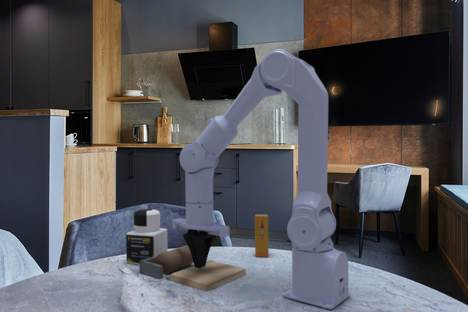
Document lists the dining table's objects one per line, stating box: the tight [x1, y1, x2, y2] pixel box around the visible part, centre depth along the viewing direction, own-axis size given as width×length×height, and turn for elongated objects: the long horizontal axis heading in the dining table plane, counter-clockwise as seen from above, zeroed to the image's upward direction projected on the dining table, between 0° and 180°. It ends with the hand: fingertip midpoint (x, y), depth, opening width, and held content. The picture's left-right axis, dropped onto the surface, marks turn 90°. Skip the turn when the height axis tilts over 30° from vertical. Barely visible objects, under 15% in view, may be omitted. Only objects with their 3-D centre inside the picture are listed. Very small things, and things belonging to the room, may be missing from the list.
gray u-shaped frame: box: [138, 256, 164, 280], centre depth 88 cm, size 7×14×2 cm, turn 141°
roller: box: [156, 244, 194, 275], centre depth 87 cm, size 4×8×4 cm
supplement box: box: [254, 213, 270, 258], centre depth 97 cm, size 3×3×10 cm
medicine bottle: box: [125, 208, 168, 265], centre depth 93 cm, size 7×7×12 cm
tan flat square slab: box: [165, 260, 247, 292], centre depth 82 cm, size 11×12×1 cm
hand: (200, 266), depth 83 cm, fingers closed
